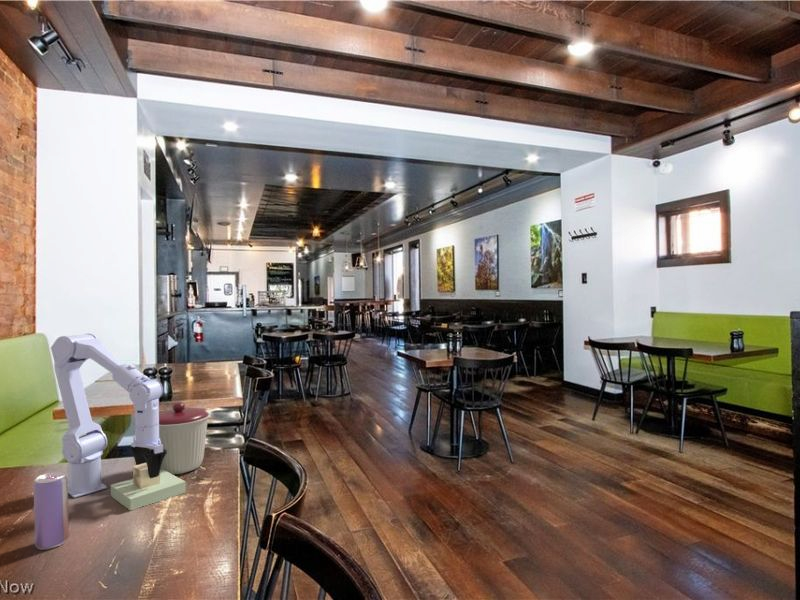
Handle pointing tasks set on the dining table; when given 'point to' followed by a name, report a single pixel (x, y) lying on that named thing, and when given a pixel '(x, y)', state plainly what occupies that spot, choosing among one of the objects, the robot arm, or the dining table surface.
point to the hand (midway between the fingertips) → (148, 473)
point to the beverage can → (51, 510)
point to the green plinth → (147, 491)
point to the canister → (182, 438)
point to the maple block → (143, 477)
